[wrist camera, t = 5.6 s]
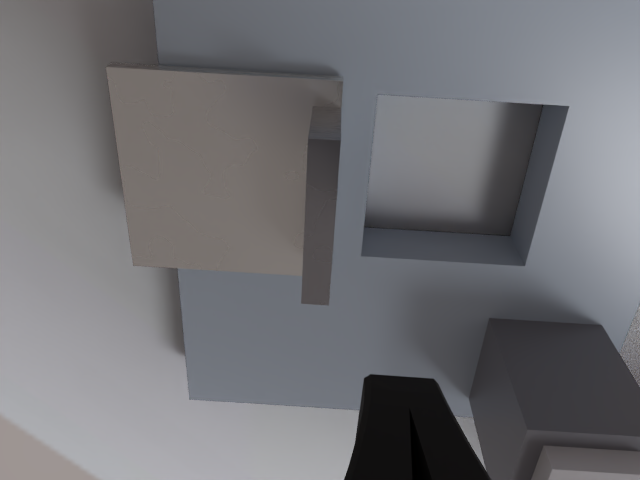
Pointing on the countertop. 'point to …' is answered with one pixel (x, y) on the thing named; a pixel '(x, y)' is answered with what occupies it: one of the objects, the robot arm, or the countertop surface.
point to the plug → (555, 403)
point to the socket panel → (426, 246)
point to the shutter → (229, 169)
